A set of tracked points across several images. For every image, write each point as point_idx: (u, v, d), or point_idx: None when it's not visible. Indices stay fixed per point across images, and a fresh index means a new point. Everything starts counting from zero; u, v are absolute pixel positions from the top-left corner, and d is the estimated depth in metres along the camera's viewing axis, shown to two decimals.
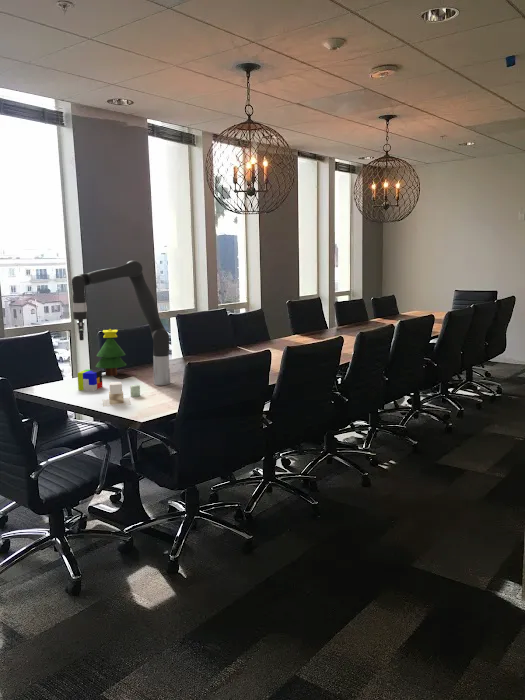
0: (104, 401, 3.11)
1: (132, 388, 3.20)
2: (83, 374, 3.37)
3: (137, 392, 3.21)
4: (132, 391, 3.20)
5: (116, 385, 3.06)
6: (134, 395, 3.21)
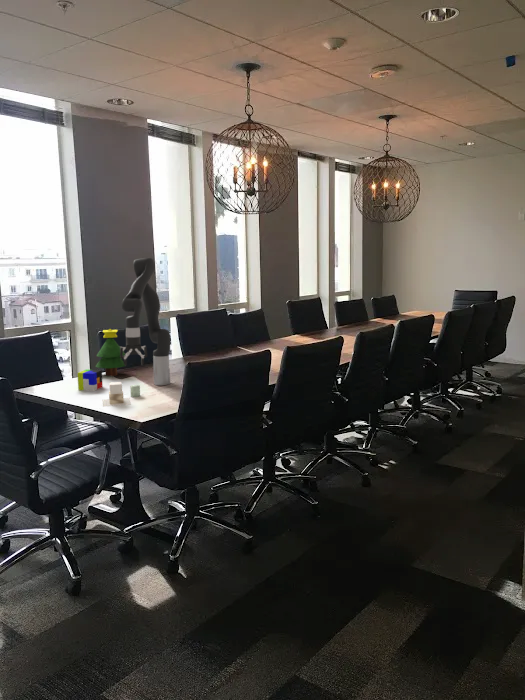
0: (104, 401, 3.11)
1: (132, 388, 3.20)
2: (83, 374, 3.37)
3: (137, 392, 3.21)
4: (132, 391, 3.20)
5: (116, 385, 3.06)
6: (134, 395, 3.21)
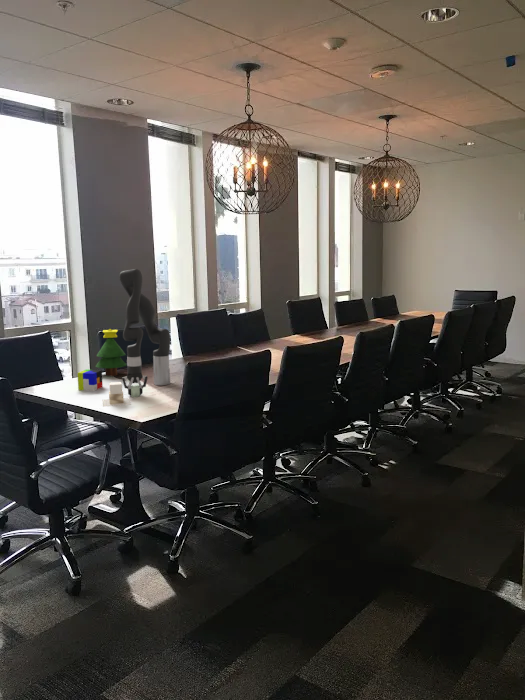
0: (104, 401, 3.11)
1: (132, 388, 3.20)
2: (83, 374, 3.37)
3: (137, 392, 3.21)
4: (132, 391, 3.20)
5: (116, 385, 3.06)
6: (134, 395, 3.20)
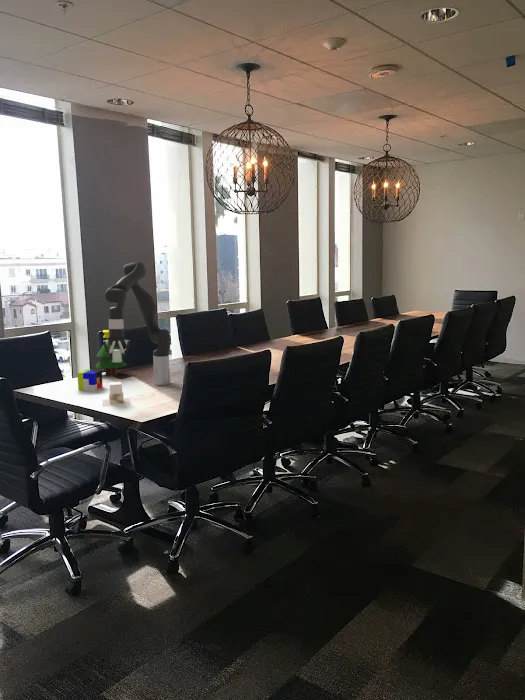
0: (104, 401, 3.11)
1: (114, 352, 3.06)
2: (83, 374, 3.37)
3: (118, 357, 3.06)
4: (113, 355, 3.06)
5: (116, 385, 3.06)
6: (115, 359, 3.06)
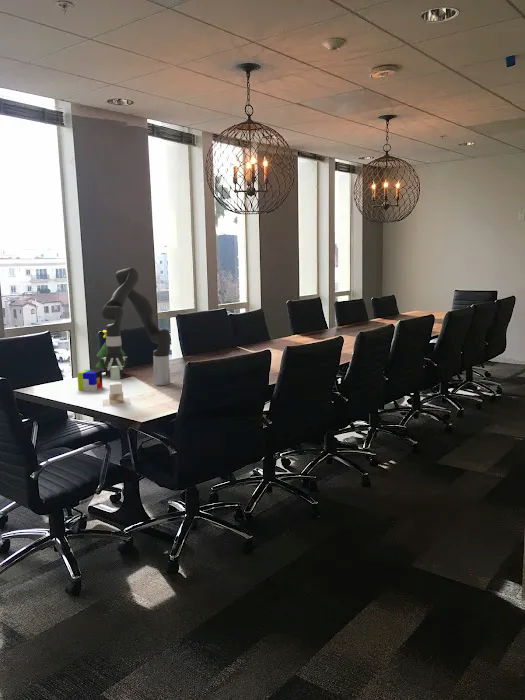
0: (104, 401, 3.11)
1: (112, 369, 3.05)
2: (83, 374, 3.37)
3: (117, 374, 3.06)
4: (112, 372, 3.05)
5: (116, 385, 3.06)
6: (114, 376, 3.06)
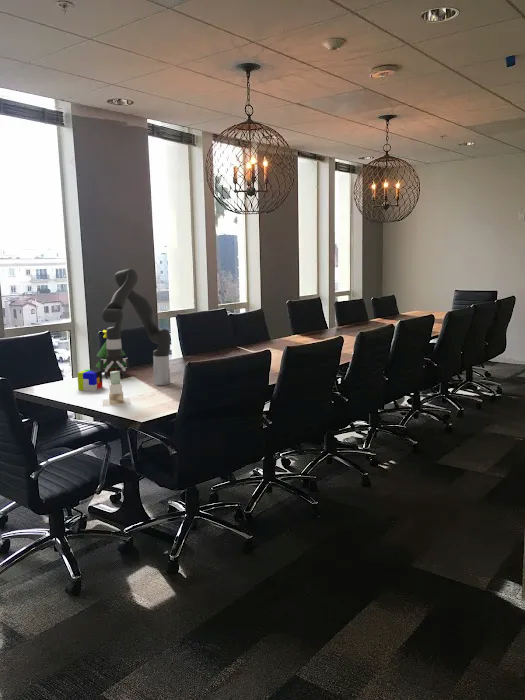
0: (104, 401, 3.11)
1: (112, 374, 3.05)
2: (83, 374, 3.37)
3: (117, 379, 3.06)
4: (112, 377, 3.06)
5: (116, 385, 3.06)
6: (114, 381, 3.06)
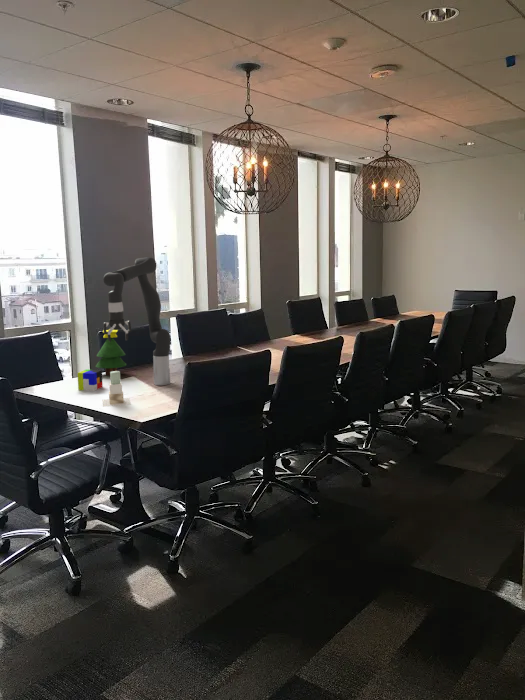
0: (104, 401, 3.11)
1: (112, 374, 3.05)
2: (83, 374, 3.37)
3: (117, 379, 3.06)
4: (112, 377, 3.06)
5: (116, 385, 3.06)
6: (114, 381, 3.06)
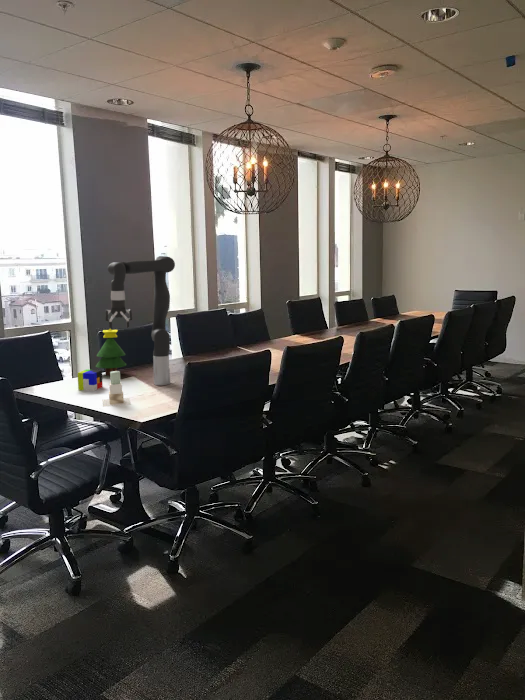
0: (104, 401, 3.11)
1: (112, 374, 3.05)
2: (83, 374, 3.37)
3: (117, 379, 3.06)
4: (112, 377, 3.06)
5: (116, 385, 3.06)
6: (114, 381, 3.06)
